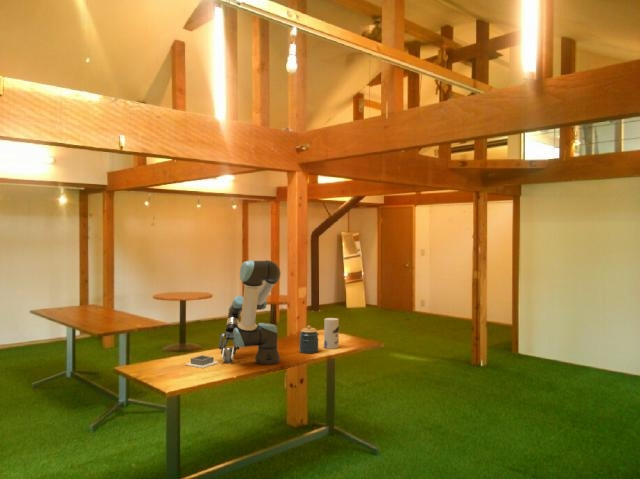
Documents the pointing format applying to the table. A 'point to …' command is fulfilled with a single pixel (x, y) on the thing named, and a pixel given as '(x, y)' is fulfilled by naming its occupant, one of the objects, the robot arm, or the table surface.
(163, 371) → the table surface
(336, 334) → the container
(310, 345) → the canister
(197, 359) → the square socket
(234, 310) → the robot arm
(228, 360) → the glossy bronze cylinder
